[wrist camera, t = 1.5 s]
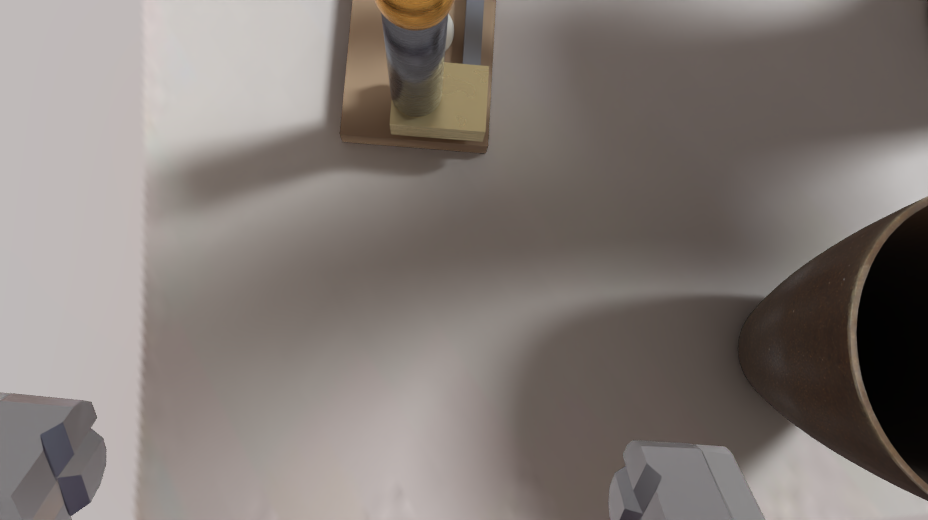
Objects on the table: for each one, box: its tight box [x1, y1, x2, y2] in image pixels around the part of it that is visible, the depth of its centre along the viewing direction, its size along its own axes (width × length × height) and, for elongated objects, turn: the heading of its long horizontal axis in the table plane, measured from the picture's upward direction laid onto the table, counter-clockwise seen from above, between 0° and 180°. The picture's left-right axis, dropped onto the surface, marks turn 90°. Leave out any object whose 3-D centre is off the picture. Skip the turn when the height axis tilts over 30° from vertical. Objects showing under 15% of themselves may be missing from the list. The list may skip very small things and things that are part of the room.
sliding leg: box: [374, 0, 489, 142], centre depth 32 cm, size 4×6×16 cm
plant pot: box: [738, 197, 928, 501], centre depth 33 cm, size 15×15×16 cm
